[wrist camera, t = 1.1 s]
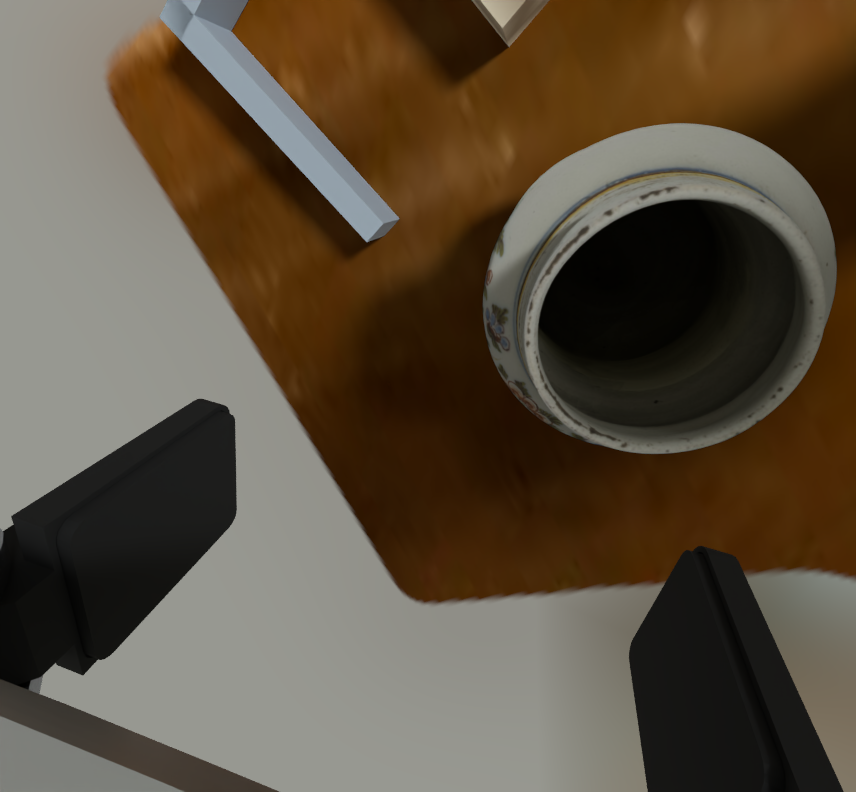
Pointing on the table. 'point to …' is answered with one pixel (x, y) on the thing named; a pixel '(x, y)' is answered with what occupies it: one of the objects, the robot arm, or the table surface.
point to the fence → (276, 110)
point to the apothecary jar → (660, 289)
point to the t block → (509, 15)
